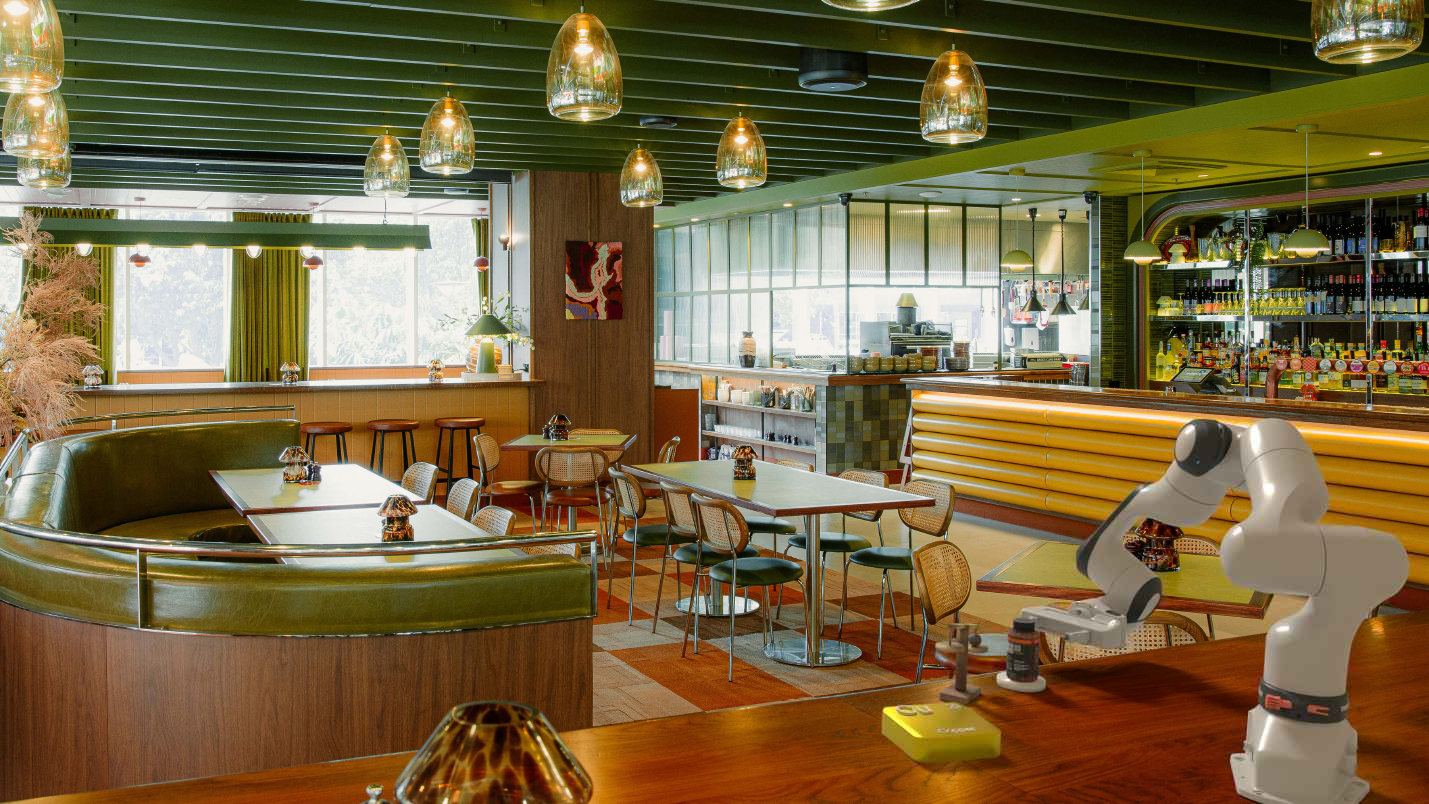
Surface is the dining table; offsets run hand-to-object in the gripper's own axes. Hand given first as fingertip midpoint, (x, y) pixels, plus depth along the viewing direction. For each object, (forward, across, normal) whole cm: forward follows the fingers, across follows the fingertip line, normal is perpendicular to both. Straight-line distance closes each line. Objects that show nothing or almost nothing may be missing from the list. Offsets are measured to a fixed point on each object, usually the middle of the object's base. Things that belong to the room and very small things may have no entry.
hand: (1046, 632), depth 212 cm
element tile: (+44, +12, +9) cm, 47 cm away
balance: (+23, -2, +9) cm, 25 cm away
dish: (+8, 0, +9) cm, 12 cm away
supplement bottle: (+8, 0, +8) cm, 11 cm away
